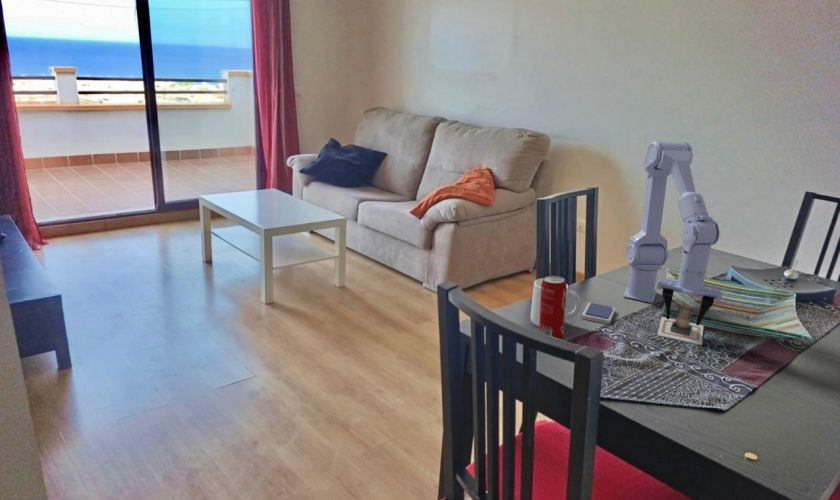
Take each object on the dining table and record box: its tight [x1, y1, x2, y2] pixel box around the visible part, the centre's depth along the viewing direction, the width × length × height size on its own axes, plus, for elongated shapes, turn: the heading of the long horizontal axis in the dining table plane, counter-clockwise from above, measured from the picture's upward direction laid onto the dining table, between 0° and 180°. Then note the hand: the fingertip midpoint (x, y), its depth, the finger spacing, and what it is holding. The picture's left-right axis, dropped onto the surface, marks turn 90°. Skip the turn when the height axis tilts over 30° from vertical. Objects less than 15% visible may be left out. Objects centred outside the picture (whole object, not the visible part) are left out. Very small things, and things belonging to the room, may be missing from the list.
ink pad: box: [581, 302, 616, 325], centre depth 158 cm, size 9×7×1 cm
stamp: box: [670, 304, 693, 336], centre depth 150 cm, size 4×4×6 cm
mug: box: [529, 277, 582, 327], centre depth 151 cm, size 12×8×10 cm
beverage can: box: [538, 275, 568, 340], centre depth 142 cm, size 6×6×15 cm
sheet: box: [656, 316, 704, 346], centre depth 151 cm, size 12×10×1 cm
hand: (682, 320), depth 150 cm, fingers open, 6 cm apart
